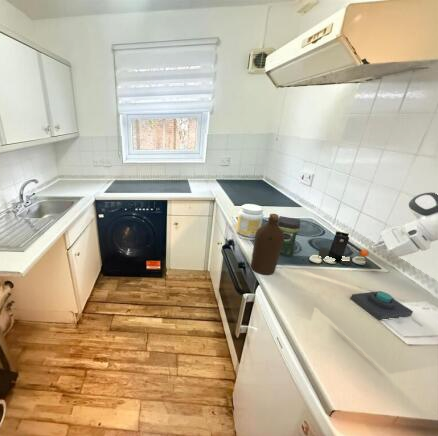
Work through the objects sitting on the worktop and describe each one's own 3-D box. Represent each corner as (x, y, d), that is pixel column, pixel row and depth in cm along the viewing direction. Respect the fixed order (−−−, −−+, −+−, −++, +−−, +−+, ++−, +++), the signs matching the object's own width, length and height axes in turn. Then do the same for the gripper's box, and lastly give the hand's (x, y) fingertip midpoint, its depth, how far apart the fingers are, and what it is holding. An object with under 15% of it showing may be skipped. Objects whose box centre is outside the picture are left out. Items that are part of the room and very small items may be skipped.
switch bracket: (349, 258, 109) (359, 234, 104) (351, 268, 102) (361, 242, 97) (318, 251, 116) (326, 227, 111) (317, 259, 109) (326, 234, 104)
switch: (363, 256, 103) (370, 251, 102) (364, 259, 101) (371, 254, 99) (335, 236, 107) (341, 232, 105) (335, 239, 105) (341, 234, 103)
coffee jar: (292, 252, 114) (302, 217, 107) (292, 260, 108) (302, 223, 101) (270, 247, 119) (278, 213, 112) (268, 254, 113) (277, 218, 105)
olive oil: (281, 275, 98) (296, 219, 88) (257, 276, 97) (269, 220, 87) (267, 261, 107) (278, 209, 98) (244, 262, 106) (254, 210, 97)
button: (381, 294, 82) (383, 290, 81) (393, 302, 78) (395, 298, 78) (372, 296, 81) (374, 291, 80) (384, 303, 78) (386, 299, 77)
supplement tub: (242, 229, 139) (247, 201, 132) (263, 236, 130) (269, 207, 124) (231, 235, 131) (235, 206, 125) (252, 243, 123) (258, 213, 116)
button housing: (378, 295, 86) (382, 286, 85) (410, 316, 77) (415, 307, 76) (350, 299, 85) (353, 290, 83) (379, 320, 76) (383, 311, 74)
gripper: (403, 218, 98) (364, 233, 107) (417, 236, 83) (370, 252, 92) (413, 230, 98) (373, 244, 107) (430, 251, 82) (381, 265, 91)
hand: (372, 248), depth 99 cm, fingers closed
